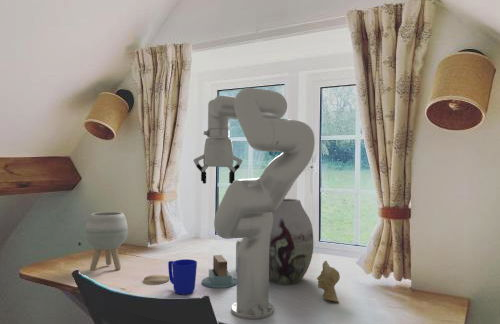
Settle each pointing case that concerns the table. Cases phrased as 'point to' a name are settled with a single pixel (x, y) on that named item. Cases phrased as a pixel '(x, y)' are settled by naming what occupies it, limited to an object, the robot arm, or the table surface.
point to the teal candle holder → (219, 280)
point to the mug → (183, 275)
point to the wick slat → (220, 265)
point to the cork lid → (156, 279)
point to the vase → (290, 243)
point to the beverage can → (237, 248)
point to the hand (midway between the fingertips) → (217, 183)
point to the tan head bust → (328, 282)
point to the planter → (106, 236)
